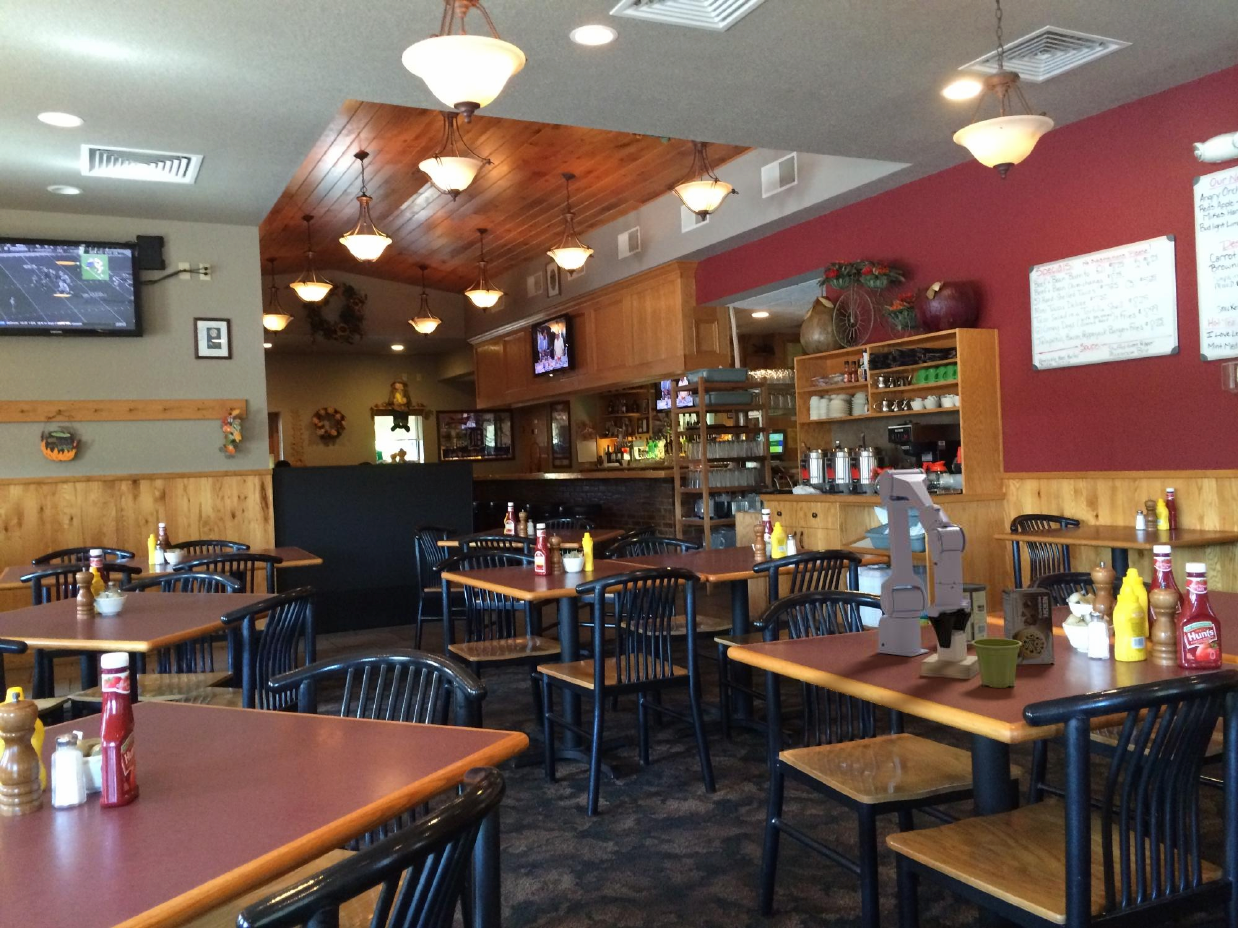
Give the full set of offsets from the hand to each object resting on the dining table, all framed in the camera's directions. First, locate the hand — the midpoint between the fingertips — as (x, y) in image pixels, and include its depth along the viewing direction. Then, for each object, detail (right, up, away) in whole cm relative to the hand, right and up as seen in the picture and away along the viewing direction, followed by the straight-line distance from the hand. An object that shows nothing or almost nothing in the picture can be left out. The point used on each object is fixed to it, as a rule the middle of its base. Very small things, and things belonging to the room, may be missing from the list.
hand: (950, 646), depth 214 cm
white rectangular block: (0, -3, 0) cm, 3 cm away
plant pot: (+5, -6, -13) cm, 15 cm away
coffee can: (+16, -6, +37) cm, 41 cm away
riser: (0, -6, 0) cm, 6 cm away
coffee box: (+21, -5, +9) cm, 23 cm away
